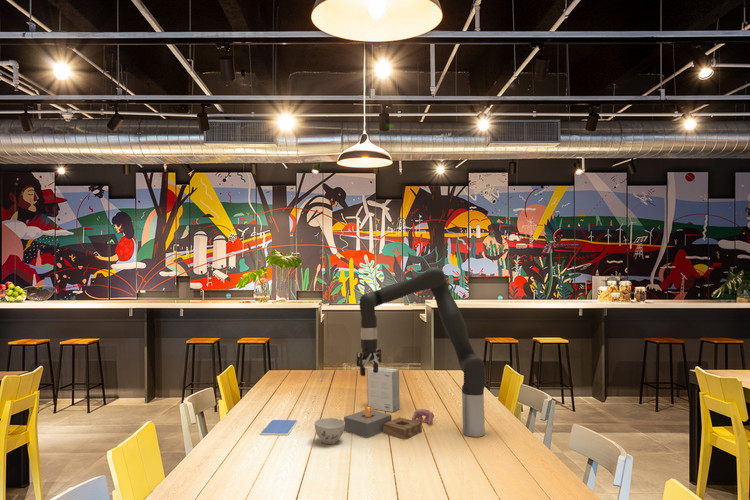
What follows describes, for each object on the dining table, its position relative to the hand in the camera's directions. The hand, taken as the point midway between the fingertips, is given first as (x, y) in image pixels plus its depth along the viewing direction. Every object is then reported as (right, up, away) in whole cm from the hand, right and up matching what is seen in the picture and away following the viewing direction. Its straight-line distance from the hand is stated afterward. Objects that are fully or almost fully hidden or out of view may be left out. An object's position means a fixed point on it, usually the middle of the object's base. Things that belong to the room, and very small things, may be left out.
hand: (369, 374), depth 198 cm
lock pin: (-1, -24, -2) cm, 24 cm away
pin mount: (+15, -24, -6) cm, 28 cm away
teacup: (-16, -24, -15) cm, 32 cm away
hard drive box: (+7, -27, +30) cm, 41 cm away
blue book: (-40, -25, +1) cm, 48 cm away
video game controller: (+25, -25, +8) cm, 36 cm away
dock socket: (-1, -24, -2) cm, 24 cm away
